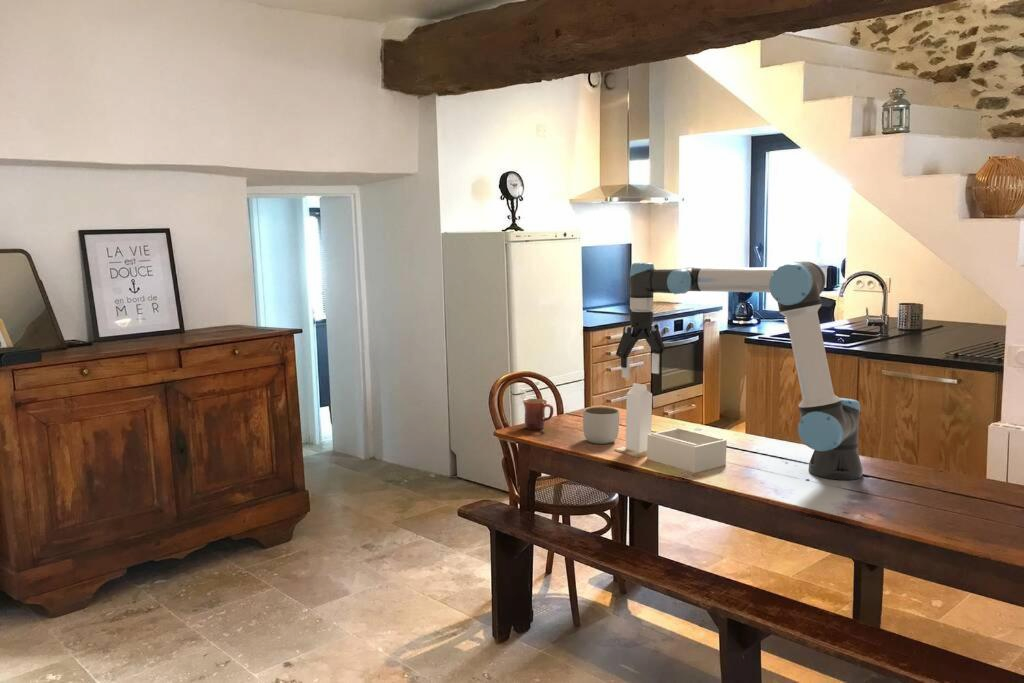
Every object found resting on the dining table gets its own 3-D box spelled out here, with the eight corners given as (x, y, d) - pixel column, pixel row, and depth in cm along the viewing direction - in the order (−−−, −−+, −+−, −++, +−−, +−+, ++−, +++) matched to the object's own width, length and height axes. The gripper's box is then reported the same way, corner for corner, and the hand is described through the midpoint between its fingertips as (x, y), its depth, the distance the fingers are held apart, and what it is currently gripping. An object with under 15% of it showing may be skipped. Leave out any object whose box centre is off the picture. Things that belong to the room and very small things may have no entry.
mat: (661, 452, 273) (662, 450, 273) (638, 457, 266) (638, 455, 266) (637, 445, 282) (637, 443, 281) (614, 450, 275) (614, 448, 275)
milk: (637, 446, 278) (638, 381, 275) (651, 450, 273) (653, 384, 271) (625, 449, 274) (626, 383, 271) (639, 453, 269) (640, 386, 267)
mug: (518, 429, 305) (518, 401, 303) (530, 424, 312) (530, 397, 311) (546, 433, 298) (546, 405, 297) (558, 428, 306) (558, 401, 304)
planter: (618, 446, 280) (618, 415, 278) (581, 445, 282) (581, 413, 280) (619, 437, 292) (620, 407, 291) (584, 436, 294) (584, 406, 292)
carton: (725, 465, 258) (726, 438, 257) (694, 473, 249) (695, 445, 248) (678, 451, 274) (678, 426, 272) (646, 458, 265) (647, 433, 264)
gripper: (659, 307, 278) (658, 370, 281) (605, 312, 263) (604, 377, 266) (676, 309, 272) (675, 372, 275) (621, 313, 257) (621, 381, 260)
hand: (640, 375), depth 270 cm, fingers open, 13 cm apart
